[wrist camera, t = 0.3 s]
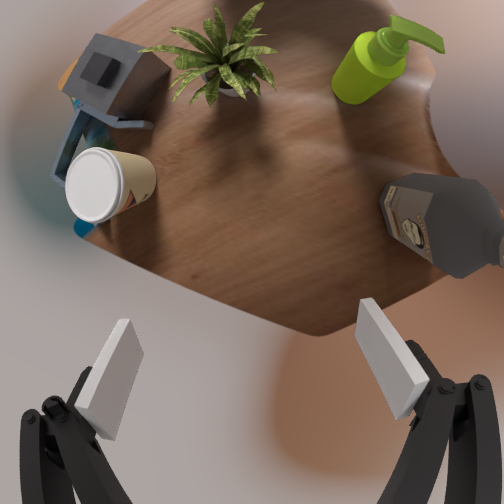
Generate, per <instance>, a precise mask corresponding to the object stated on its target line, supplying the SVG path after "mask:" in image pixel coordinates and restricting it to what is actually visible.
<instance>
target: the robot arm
mask: <svg viewBox="0 0 504 504" xmlns="http://www.w3.org/2000/svg"><path fill="white" fill-rule="evenodd" d="M354 337H355V339H356V341H357V342H358V344H359V346H360V348H361V350H362V352H363V354H364V356H365V358H366V360H367V362H368V364H369V366H370V368H371V370H372V372H373V374H374V376H375V378H376V380H377V382H378V384H379V386H380V388H381V390H382V392H383V394H384V396H385V398H386V400H387V402H388V405H389V407H390V409H391V411H392V413H393V415H394V418H395V420H399V419H401V418H404V417H407V416H409V415H410V414H411V412H412V410H413V409H414V411H415V412H416V416H415V417H414V419H413V420H412V422H411V424H410V425H409V426H411V425H412V426H411V429H410V432H409V434H408V437H407V440H406V443H405V445H404V448H403V450H402V453H401V455H400V457H399V460H398V462H397V464H396V467H395V469H394V471H393V473H392V475H391V478H390V479H389V481H388V484H387V485H386V487H385V489H384V491H383V493H382V495H381V497H380V499H379V501H378V503H377V504H427V502H428V500H429V497H430V495H431V492H432V490H433V487H434V484H435V481H436V479H437V476H438V473H439V470H440V467H441V463H442V460H443V457H444V454H445V450H446V446H447V442H448V438H449V459H448V475H447V487H446V494H445V502H444V504H501V493H502V457H501V443H500V433H499V425H498V418H497V412H496V406H495V400H494V395H493V391H492V386H491V383H490V380H489V379H488V378H487V377H486V376H484V375H480V374H477V375H474V376H473V377H472V378H471V380H470V381H469V382H468V383H460V384H455V383H454V382H453V381H452V380H450V379H448V378H442V377H441V375H440V374H439V372H438V371H437V369H436V368H435V366H434V365H433V364H432V362H431V361H430V359H428V357H427V355H426V354H425V353H424V351H423V350H422V348H421V347H420V346H419V344H417V343H416V342H414V341H413V340H408V341H403V339H402V338H401V336H400V335H399V334H398V332H397V331H396V329H395V328H394V327H393V325H392V324H391V323H390V321H389V320H388V318H387V317H386V316H385V314H384V313H383V311H382V310H381V309H380V307H379V306H378V305H377V303H376V302H375V301H374V300H373V298H372V297H371V298H365V299H360V304H359V311H358V317H357V323H356V329H355V335H354ZM143 355H144V353H143V350H142V348H141V345H140V343H139V340H138V338H137V335H136V333H135V330H134V328H133V325H132V323H131V320H130V319H119V320H118V322H117V324H116V326H115V327H114V329H113V331H112V333H111V334H110V336H109V338H108V340H107V342H106V343H105V345H104V347H103V349H102V351H101V353H100V355H99V357H98V359H97V360H96V362H95V364H94V366H93V367H89V366H88V367H87V368H86V369H85V370H84V371H83V372H82V373H81V375H80V377H79V379H78V381H77V383H76V385H75V387H74V389H73V391H72V393H71V395H70V397H69V399H68V401H67V403H65V402H64V401H63V400H62V398H60V397H59V396H51V397H49V398H47V399H46V400H45V401H44V402H43V405H42V411H43V412H44V413H45V415H40V414H39V412H38V411H37V410H35V409H30V410H28V411H26V412H25V413H24V414H23V416H22V419H21V430H20V483H21V493H22V494H21V495H22V504H76V502H75V497H74V492H73V487H74V489H75V491H76V494H77V496H78V498H79V500H80V502H81V504H132V502H131V500H130V499H129V497H128V496H127V494H126V493H125V491H124V490H123V488H122V486H121V485H120V483H119V481H118V479H117V478H116V476H115V474H114V472H113V471H112V469H111V467H110V465H109V463H108V461H107V459H106V458H105V455H104V454H103V452H102V450H101V447H100V445H99V443H98V441H97V440H96V438H95V435H96V432H97V433H98V435H99V436H100V437H101V438H103V439H108V440H113V441H115V438H116V435H117V431H118V428H119V425H120V422H121V419H122V415H123V413H124V410H125V406H126V403H127V400H128V397H129V394H130V392H131V389H132V386H133V383H134V380H135V377H136V374H137V372H138V369H139V366H140V363H141V361H142V358H143ZM72 485H73V486H72Z"/></svg>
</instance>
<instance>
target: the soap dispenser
mask: <svg viewBox="0 0 504 504" xmlns="http://www.w3.org/2000/svg"><path fill="white" fill-rule="evenodd" d="M389 20H390V28H388V27H384V28H381V29H379V30H378V31H377V32H365V33H362V34H361V35H359V36H358V37H357V39H356V40H355V42H354V43H353V45H352V47H351V48H350V50H349V51H348V53H347V55H346V56H345V58H344V59H343V61H342V63H341V64H340V66H339V67H338V69H337V71H336V72H335V74H334V76H333V78H332V82H331V85H332V89H333V91H334V93H335V95H336V96H337V97H338V98H339V99H340V100H342V101H343V102H345V103H348V104H360V103H363V102H364V101H366V100H367V99H368V98H370V97H371V96H372V95H374V94H375V93H377V92H378V91H379V90H381V89H382V88H383V87H385V86H386V85H388V84H389V83H390V82H392V81H393V80H395V79H396V78H398V77H399V76H400V75H402V74H403V72H404V71H405V68H406V58H405V55H407V53H408V52H409V44H408V40H409V39H410V40H413V41H416V42H418V43H421V44H423V45H425V46H428V47H430V48H431V49H433V50H435V51H436V52H438V53H442V54H445V49H444V42H443V38H442V37H441V36H439V35H438V34H436V33H435V32H433V31H432V30H430V29H428V28H426V27H424V26H422V25H420V24H418V23H415V22H413V21H410V20H407V19H404V18H401V17H398V16H395V15H391V16H390V17H389Z"/></svg>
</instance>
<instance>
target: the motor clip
mask: <svg viewBox="0 0 504 504" xmlns="http://www.w3.org/2000/svg"><path fill="white" fill-rule="evenodd" d="M143 49H146V48H145V47H142V46H139V45H136V44H133V43H130V42H127V41H123V40H120V39H116V38H113V37H109V36H105V35H101V34H97V33H96V34H95V35H94V37H93V38H92V40H91V41H90V43H89V45H88V46H87V47H86V49H85V50H84V52H83V54H82V55H81V57H80V59H79V60H78V62H77V64H76V65H75V67H74V69H73V71H72V72H71V74H70V76H69V78H68V80H67V82H66V84H65V85H64V87H63V89H62V92H64V93H66V94H68V95H70V96H72V97H74V98H76V99H78V100H80V103H79V105H78V107H77V109H76V111H75V113H74V116H73V118H72V120H71V122H70V124H69V127H68V129H67V131H66V134H65V136H64V139H63V141H62V144H61V146H60V149H59V151H58V154H57V157H56V160H55V162H54V165H53V168H52V171H51V174H50V177H51V178H52V179H53V180H54V181H55V182H57V183H58V184H59V185H60V186H62V187H63V188H64V189H65V183H66V176H67V171H68V168H69V165H70V162H71V160H72V157H73V155H74V152H75V150H76V147H77V145H78V143H79V140H80V138H81V136H82V134H83V131H84V129H85V127H86V125H87V123H88V121H89V119H90V117H91V115H92V116H94V117H95V118H97V119H99V120H101V121H103V122H104V123H106V124H108V125H110V126H111V127H113V128H117V129H123V130H153V128H154V123H151V122H147V121H144V120H139V119H140V118H141V116H142V114H143V112H144V111H145V109H146V107H147V106H148V104H149V102H150V101H151V99H152V97H153V96H154V94H155V93H156V91H157V89H158V88H159V86H160V85H161V83H162V82H163V80H164V79H165V77H166V76H167V74H168V73H169V71H170V70H171V68H170V67H169V66H168V65H167V64H165V63H164V62H163V61H162V60H161V59H159V58H158V57H157V56H156V55H155V54H153V53H152V52H141V53H136V52H138V51H140V50H143ZM108 220H110V218H109V219H108ZM108 220H106V221H104V222H101V223H93V224H94V226H98V225H100V224H103V223H106V222H107V221H108Z"/></svg>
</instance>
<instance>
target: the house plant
mask: <svg viewBox="0 0 504 504" xmlns="http://www.w3.org/2000/svg"><path fill="white" fill-rule="evenodd" d="M264 2H266V1H264ZM264 2H261V3H259V4H257V5H255V6H254V7H252V8H251V9H250V10H249V11H247V12H246V13H245V14H244V16H243V17H242V18H241V19H240V21H239V22H238V23H237V24H236V26H235V27H234V29H233V30H232V36H231V39H230V41H229V44H227V37H226V31H225V23H224V19H223V17H222V15H221V13H220V11H219V9H218V8H217V6H216V5H215V4H214V3H213V8H214V11H215V20H216V22H215V23H214V22H213V21H212V20H211V19H210V18H208V19H207V20H206V21H205V22H204V25H203V27H204V30H205V32H206V34H207V35H208V37H209V38H210V40H211V41H212V43H213V45H214V46H215V47H214V46H213V45H212V44H211V43H210V42H209V41H208V40H207V39H205V38H204V37H202V36H201V35H200V34H198V33H197V32H194V31H192V30H189V29H186V28H180V27H177V28H176V27H171V28H172V29H173V31H170V32H173V33H175V34H177V35H179V36H181V37H182V38H184V39H185V40H187V41H189V42H190V43H191V44H193V45H194V46H195V47H196V48H197V49H199V50H200V51H202V52H204V53H205V54H204V53H200V52H196V51H190V50H187V49H183V48H179V47H174V46H167V45H160V46H155V47H151V48H146V49H143V50H140V51H138V52H136V53H141V52H153V51H162V52H171V53H175V54H179V55H180V56H178V57H177V58H176V60H175V61H174V64H175V66H176V67H177V69H180V70H187V69H191V68H198V69H194V70H190V71H187V72H184V73H182V74H181V75H179V76H178V77H177V78H176V79H175V81H174V82H173V83H172V85H171V86H170V89H171V87H172V86H173V85H174V84H175V83H176V82H177V81H178V80H180V79H181V78H182V77H184V76H185V75H187V74H189V73H191V74H190V75H188V76H187V77H186V78H184V80H183V81H182V83H181V85H180V87H179V88H178V90H177V92H176V93H175V95H174V99H173V102H174V101H175V99H176V98H177V97H178V95H179V94H180V93H181V92H182V91H183V89H184V88H185V87H186V86H187V85H188V84H189V83H190V82H191V81H192V80H193V79H194V78H196V77H197V76H199V75H202V78H203V80H204V81H205V83H206V85H204V86H203V87H201V88H200V89H199V90H197V92H196V93H195V95H194V96H193V98H192V99H191V101H190V104H189V105H191V104H192V103H193V102H194V101H195V100H196V99H197V98H198V97H199V96H200V95H201V94H202V93H204V92H205V91H206V94H205V95H206V99H207V102H208V104H209V106H211V105H212V104H213V103H214V102H215V100H216V98H217V96H218V92H219V91H220V92H222V93H224V94H226V95H228V96H232V97H238V96H242V97H243V98H244V99H246V96H245V94H246V93H247V92H248V91H250V90H252V91H253V92H254V93H255V94H257V95H258V96H259V94H260V95H261V93H260V84H259V82H258V80H257V79H256V78H255V76H256V75H257V76H258V77H260V78H261V79H263V80H265V81H267V82H269V83H270V85H271V86H272V87H273V88H274V89H275V86H274V85H275V84H274V78H273V75H272V73H271V72H270V71H269V69H267V67H266V66H265V65H264V64H263V62H262V61H261V60H260V59H259V58H258V57H256V56H257V55H259V54H272V53H279V52H278V51H276V50H274V49H272V48H269V47H265V46H250V47H247V45H248V44H249V43H250V42H251V41H252V39H253V38H254V37H255V36H259V35H268V34H257V32H258V31H259V30H260V29H262V28H251V29H250V27H251V26H252V25H253V23H254V19H255V16H256V14H257V13H258V11H259V10H260V9H261V8H262V6H263V4H264ZM216 26H217V28H218V31H217V28H216ZM192 72H193V73H192ZM170 89H169V90H170ZM169 90H168V91H169ZM275 90H276V89H275ZM258 93H259V94H258ZM246 101H247V100H246ZM173 102H172V103H173ZM172 103H171V104H172Z"/></svg>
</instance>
